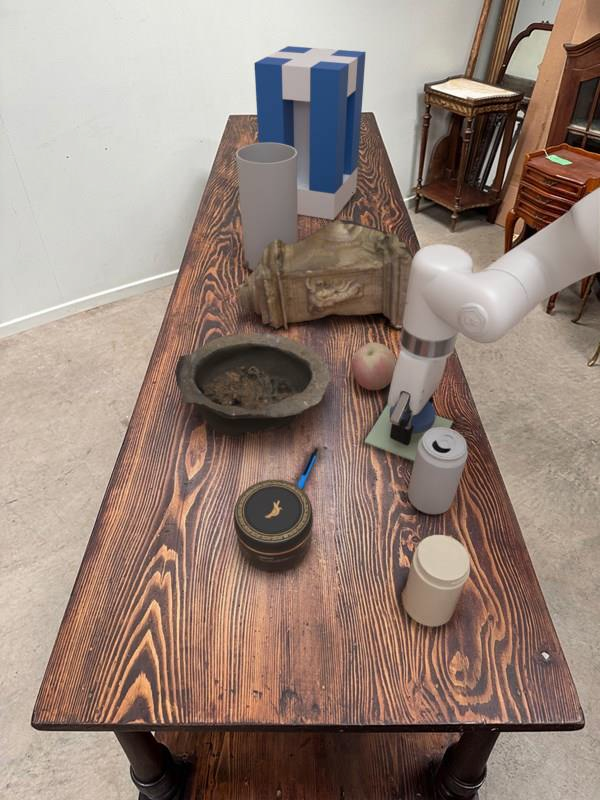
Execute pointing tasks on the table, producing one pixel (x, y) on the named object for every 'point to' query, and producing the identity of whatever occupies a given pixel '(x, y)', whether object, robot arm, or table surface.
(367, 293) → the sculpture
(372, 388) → the apple
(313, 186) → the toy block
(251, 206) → the cylinder vase
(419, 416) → the jar lid
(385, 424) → the coaster
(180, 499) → the table surface
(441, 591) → the jam jar
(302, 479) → the pen
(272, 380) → the stone bowl
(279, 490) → the jar
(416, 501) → the beverage can
